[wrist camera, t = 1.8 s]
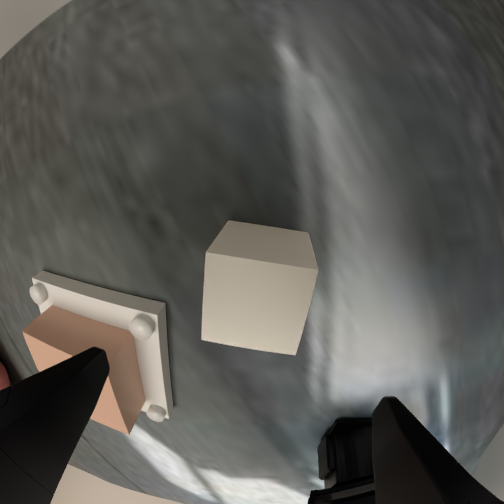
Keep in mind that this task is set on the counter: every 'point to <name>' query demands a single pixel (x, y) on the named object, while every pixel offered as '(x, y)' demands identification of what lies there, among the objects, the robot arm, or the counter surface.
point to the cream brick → (258, 287)
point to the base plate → (124, 317)
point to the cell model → (4, 377)
